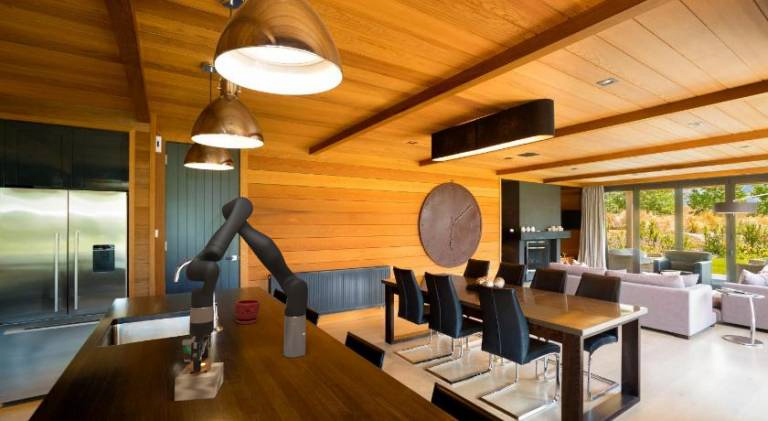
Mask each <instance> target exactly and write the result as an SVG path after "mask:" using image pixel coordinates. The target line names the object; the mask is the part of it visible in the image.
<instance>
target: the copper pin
mask: <svg viewBox="0 0 768 421" xmlns="http://www.w3.org/2000/svg"><path fill="white" fill-rule="evenodd" d="M211 363H212V358H209V357H208V358H201V371H200V372H193V361H192V362H191V363H190V364H189V365H190V373H192V374H202V373H207V372H208V371H210V370H211Z"/></svg>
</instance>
